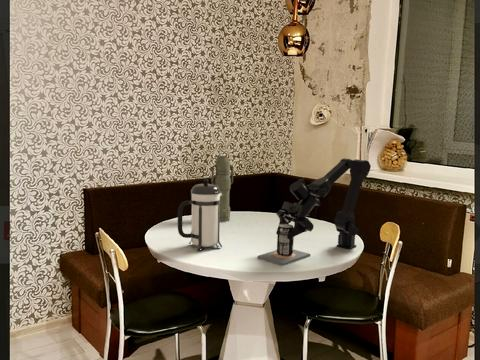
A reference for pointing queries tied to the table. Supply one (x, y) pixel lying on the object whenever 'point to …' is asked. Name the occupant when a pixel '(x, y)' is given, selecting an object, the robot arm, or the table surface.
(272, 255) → the placemat
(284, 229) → the beverage can
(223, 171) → the thermos
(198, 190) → the coffee press
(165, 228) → the table surface
